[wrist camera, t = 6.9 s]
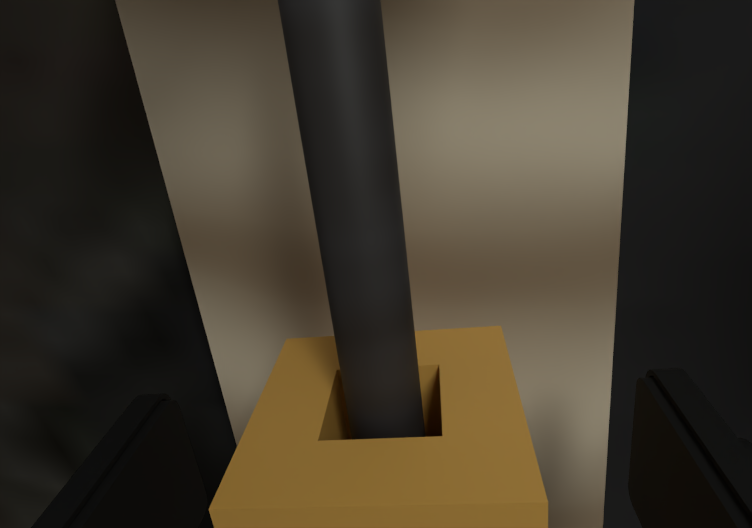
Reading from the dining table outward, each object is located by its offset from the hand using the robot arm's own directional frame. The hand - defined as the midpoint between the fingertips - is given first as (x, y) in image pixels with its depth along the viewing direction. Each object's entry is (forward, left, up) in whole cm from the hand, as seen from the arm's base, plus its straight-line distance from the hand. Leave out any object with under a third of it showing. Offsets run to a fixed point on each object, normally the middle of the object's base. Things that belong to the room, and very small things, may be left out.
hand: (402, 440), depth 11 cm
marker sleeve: (0, 0, 0) cm, 0 cm away
